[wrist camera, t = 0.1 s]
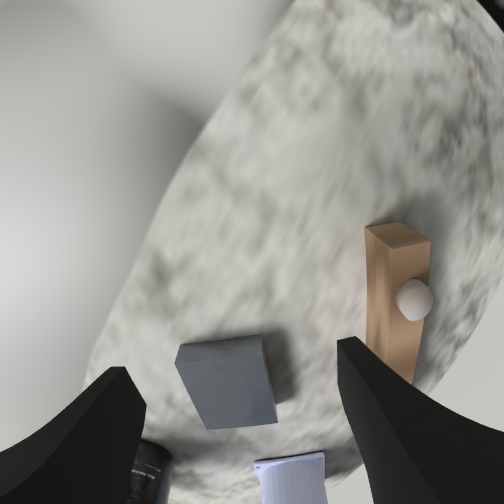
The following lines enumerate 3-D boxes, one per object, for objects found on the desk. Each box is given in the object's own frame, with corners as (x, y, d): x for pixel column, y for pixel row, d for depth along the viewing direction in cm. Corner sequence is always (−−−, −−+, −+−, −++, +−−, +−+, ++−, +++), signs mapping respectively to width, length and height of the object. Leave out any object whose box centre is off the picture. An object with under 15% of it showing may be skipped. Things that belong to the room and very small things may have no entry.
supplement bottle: (157, 436, 25) (135, 532, 14) (185, 465, 28) (174, 549, 16) (108, 436, 26) (80, 519, 15) (139, 465, 28) (121, 540, 17)
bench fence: (384, 402, 24) (401, 442, 19) (360, 409, 24) (375, 451, 19) (398, 221, 18) (442, 248, 13) (364, 227, 18) (402, 257, 13)
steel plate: (275, 401, 24) (277, 422, 21) (209, 408, 24) (206, 429, 21) (260, 331, 21) (262, 353, 18) (181, 341, 21) (174, 363, 19)
